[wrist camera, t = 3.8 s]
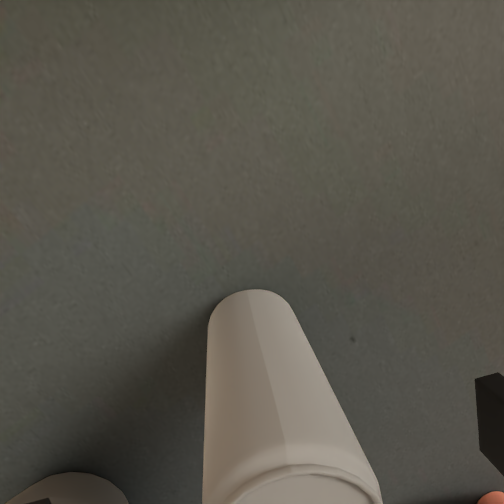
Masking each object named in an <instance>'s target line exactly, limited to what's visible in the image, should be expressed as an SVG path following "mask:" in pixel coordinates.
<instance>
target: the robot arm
mask: <svg viewBox="0 0 504 504" xmlns="http://www.w3.org/2000/svg"><path fill="white" fill-rule="evenodd" d="M475 389H476V403H477V417H478V431H479V445H480V451H481V452H482V453H483V454H484V455H485V456H486V457H487V458H488V459H489V461H490V462H491V463H492V464H493V465H494V466H495V467H496V468H497V469H498V470H499V472H500V473H501V474H502V475H503V476H504V376H502V375H501V374H500V373H494V374H491V375H487V376H483V377H480V378H476V379H475ZM26 504H51V502H50V500H49V498H44V499H41V500H37V501H34V502H30V503H26Z"/></svg>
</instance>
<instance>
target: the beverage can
mask: <svg viewBox="0 0 504 504" xmlns="http://www.w3.org/2000/svg"><path fill="white" fill-rule="evenodd" d="M202 504H383V502H382V497H381V492H380V487H379V483H378V481H377V478H376V476H375V474H374V472H373V470H372V468H371V466H370V464H369V462H368V460H367V458H366V456H365V454H364V452H363V450H362V448H361V446H360V444H359V442H358V440H357V438H356V436H355V434H354V432H353V430H352V428H351V426H350V424H349V422H348V420H347V418H346V416H345V414H344V412H343V410H342V408H341V406H340V404H339V402H338V400H337V398H336V396H335V394H334V392H333V390H332V388H331V386H330V384H329V382H328V380H327V378H326V376H325V374H324V372H323V370H322V368H321V366H320V364H319V362H318V360H317V358H316V356H315V354H314V352H313V350H312V348H311V346H310V344H309V342H308V340H307V338H306V336H305V334H304V332H303V330H302V328H301V326H300V324H299V322H298V320H297V318H296V316H295V314H294V312H293V310H292V309H291V307H290V305H289V304H288V303H287V302H286V301H285V300H284V299H283V298H282V297H281V296H279V295H277V294H275V293H273V292H271V291H267V290H261V289H253V290H244V291H240V292H236V293H234V294H232V295H230V296H228V297H226V298H224V299H223V300H222V301H221V302H220V303H219V304H218V305H217V306H216V308H215V309H214V311H213V313H212V314H211V317H210V321H209V324H208V341H207V369H206V401H205V432H204V463H203V494H202Z"/></svg>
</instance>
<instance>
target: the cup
mask: <svg viewBox="0 0 504 504" xmlns="http://www.w3.org/2000/svg"><path fill="white" fill-rule="evenodd" d="M44 498H49V500H50V502H51V504H129V503H128V501H127V499H126V497H125V496H124V494H123V492H122V491H121V490H120V489H118V488H117V487H116V486H115V485H114V484H112V483H111V482H110V481H109V480H106V479H104V478H101V477H98V476H96V475H93V474H90V473H78V472H67V473H62V474H56V475H51V476H48V477H47V478H45V479H43V480H41V481H39V482H37V483H35V484H33V485H32V486H30V487H29V488H27V489H25V490H24V491H22V492H21V493H20V494H18V495H17V496H15V497H14V498H12V499H11V500H9V501H8V502H6V503H5V504H26V503H30V502H34V501H37V500H41V499H44Z"/></svg>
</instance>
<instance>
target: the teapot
mask: <svg viewBox="0 0 504 504" xmlns="http://www.w3.org/2000/svg"><path fill="white" fill-rule="evenodd" d="M477 504H504V493H503V492H500V491H494V492H490V493H488V494H486V495H484V496H483V497H482V498H481V499H480V500H479V501H478V503H477Z"/></svg>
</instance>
